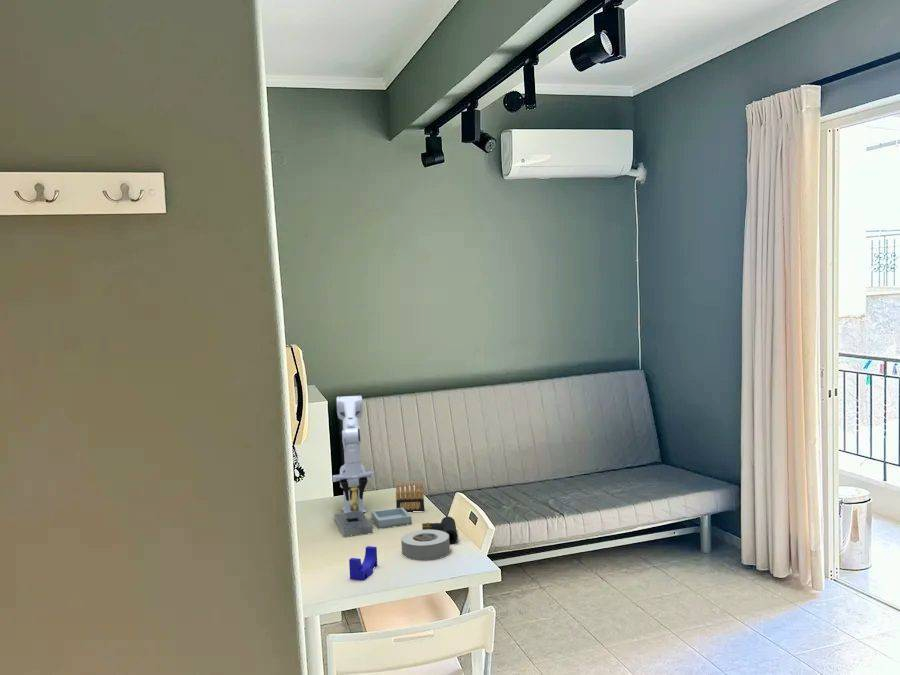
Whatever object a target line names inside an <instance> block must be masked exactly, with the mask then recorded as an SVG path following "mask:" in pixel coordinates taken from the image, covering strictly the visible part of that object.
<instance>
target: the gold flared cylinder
mask: <svg viewBox="0 0 900 675" xmlns="http://www.w3.org/2000/svg"><path fill="white" fill-rule="evenodd" d="M358 489H360V486H359V485H350V486H348V490H350V511H358V510H359V501H358Z"/></svg>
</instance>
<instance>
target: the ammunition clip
mask: <svg viewBox="0 0 900 675" xmlns="http://www.w3.org/2000/svg"><path fill="white" fill-rule="evenodd" d="M423 486H424V484H423V481H422V480H420V481H419V483H418V481H417V480H415V482H413V480H411V481H410V485H409V482H408V480H406V482H405V484H404V481H403V480H401V483H399V481H398V480H397V481H396V487H395V503H396V506H395V507H396V508H404V509H405V510H406V511H407V512H412V513H414V512H413V511H425V510H426V508H425V500H424V499H425V498H424V497H425V496H424V495H425V494H424V493H425V492H424V487H423Z"/></svg>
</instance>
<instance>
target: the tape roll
mask: <svg viewBox="0 0 900 675" xmlns="http://www.w3.org/2000/svg"><path fill="white" fill-rule="evenodd" d="M400 540H401V541H400V542H401V554H403V555H404V556H406V557H407V558H406V557H405V558H406V559H409V558H410V560H413V559H414V561H431V560H432V561H433V560H438V559H441V558H440V557H442V556H444V557H446V556H447V554H448V553H450V551H451V548H450V547H451V544H450V542H449V534H448V533H446V532H444V531H439V530H422V529H418V530H414V531H411V532H408V533H406V534H404V535H402V536H401V539H400ZM403 555H402V556H403ZM445 555H446V556H445ZM448 555H449V554H448ZM404 556H403V557H404ZM437 558H438V559H437ZM442 558H443V557H442Z"/></svg>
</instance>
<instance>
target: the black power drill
mask: <svg viewBox="0 0 900 675" xmlns="http://www.w3.org/2000/svg"><path fill="white" fill-rule="evenodd" d="M421 527H422V529H421V530H439V531H444V532H446V533H448V534H449V542H450V545H455V544H456V543H457V541H458V539H459V538H458V537H459V536H458V531H457V526H456V520H455V519H454V518H453V517H452V516H445V517H443V518H442V519H441V521H440V522H434V523H433V522H431V523H430V522H424V523H422V525H421Z"/></svg>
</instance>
